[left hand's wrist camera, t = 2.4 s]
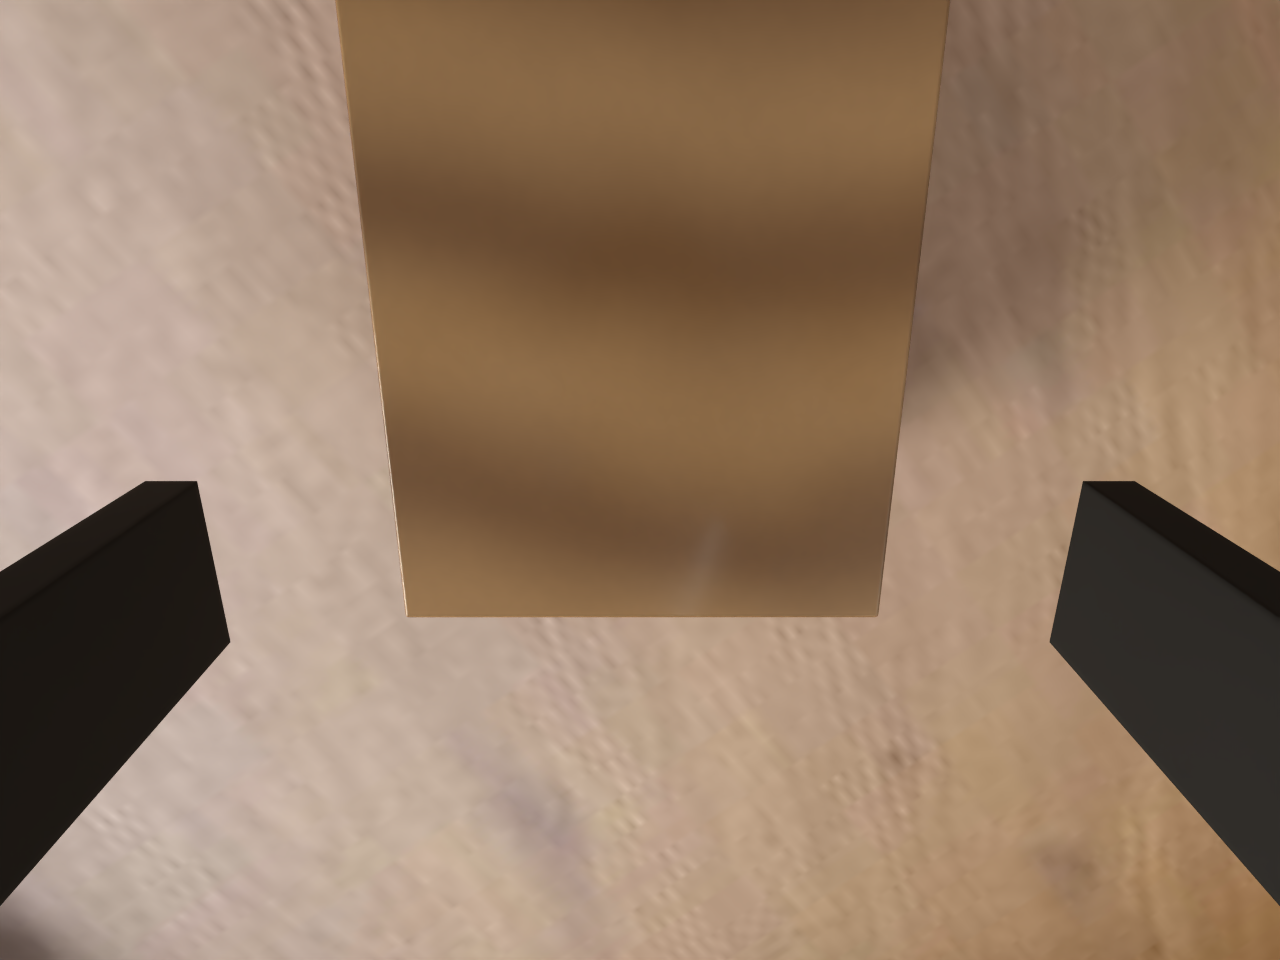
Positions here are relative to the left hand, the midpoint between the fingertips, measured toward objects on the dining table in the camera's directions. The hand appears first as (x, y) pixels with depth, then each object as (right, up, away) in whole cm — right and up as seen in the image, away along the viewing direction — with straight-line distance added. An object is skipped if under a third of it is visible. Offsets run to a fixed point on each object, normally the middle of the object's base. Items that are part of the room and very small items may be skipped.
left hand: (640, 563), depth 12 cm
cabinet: (0, +10, +15) cm, 18 cm away
